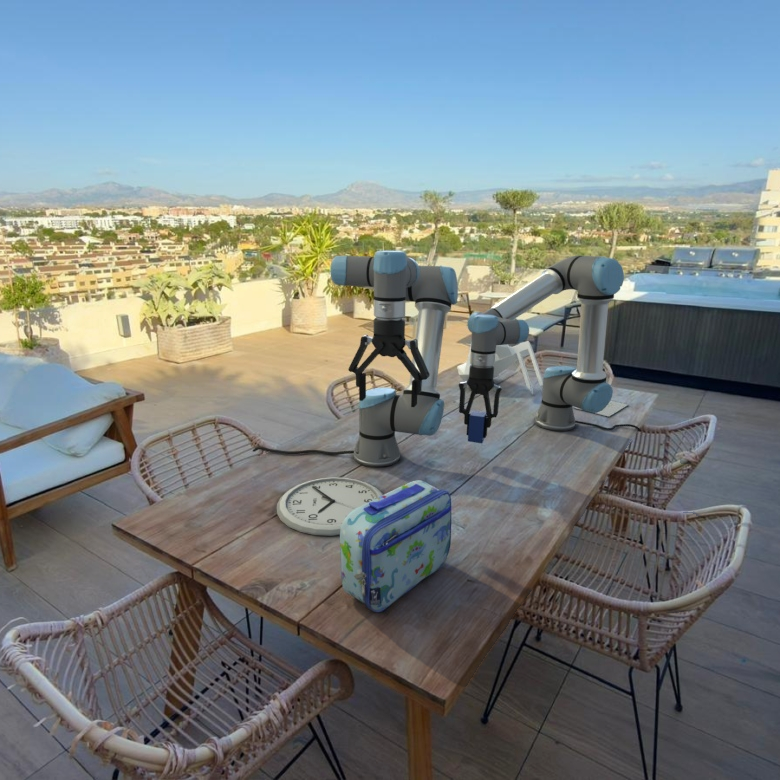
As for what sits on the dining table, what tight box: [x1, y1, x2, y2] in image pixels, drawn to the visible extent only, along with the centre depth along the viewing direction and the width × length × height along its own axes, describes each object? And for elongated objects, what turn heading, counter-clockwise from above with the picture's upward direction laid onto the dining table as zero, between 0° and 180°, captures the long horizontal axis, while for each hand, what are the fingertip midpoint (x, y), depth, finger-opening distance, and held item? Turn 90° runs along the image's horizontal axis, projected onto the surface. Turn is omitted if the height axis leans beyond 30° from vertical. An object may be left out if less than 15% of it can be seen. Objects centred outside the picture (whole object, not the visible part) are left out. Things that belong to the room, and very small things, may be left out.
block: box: [467, 410, 487, 444], centre depth 168 cm, size 5×5×9 cm
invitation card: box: [573, 400, 629, 418], centre depth 226 cm, size 21×1×15 cm
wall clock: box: [276, 476, 385, 537], centre depth 142 cm, size 30×2×30 cm
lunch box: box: [339, 479, 452, 613], centre depth 109 cm, size 26×11×21 cm, turn 134°
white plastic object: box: [456, 318, 543, 395], centre depth 252 cm, size 37×45×31 cm
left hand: (387, 402), depth 131 cm, fingers open, 13 cm apart
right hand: (476, 434), depth 169 cm, fingers closed on block, 5 cm apart
